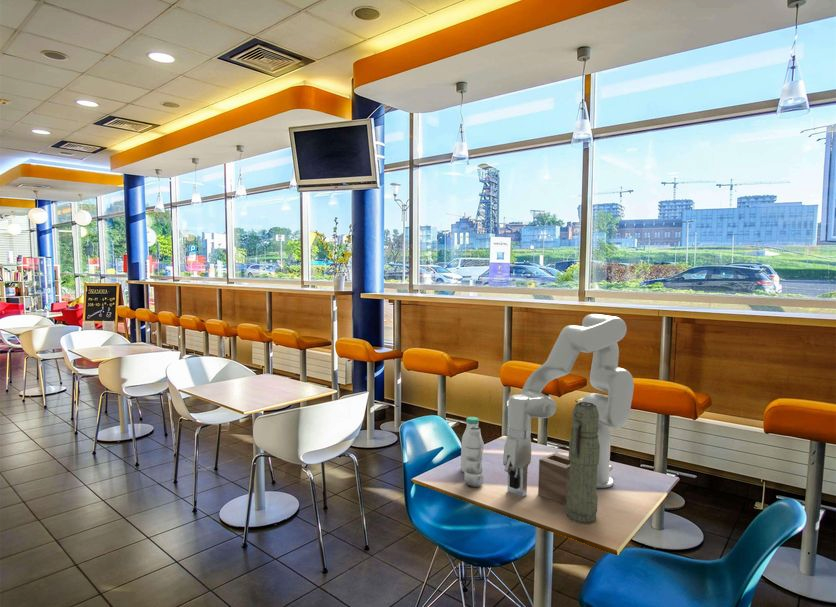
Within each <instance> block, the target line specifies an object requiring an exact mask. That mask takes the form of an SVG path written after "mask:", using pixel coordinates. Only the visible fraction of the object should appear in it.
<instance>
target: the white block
mask: <svg viewBox="0 0 836 607" xmlns="http://www.w3.org/2000/svg"><path fill="white" fill-rule="evenodd" d="M528 466H529V465H528ZM528 466H525V465H524V466H522V467H520V468H518V475H517V477H519V479H518V489H515V488H512V487H510V486H509V483H510V475H509V473H508V472H507V493H510V494H512V495H514V496H517V497H520V498H524V497H526V496H527V494H528V492H527V491H528ZM512 470H513V471H515V470H514V469H512Z"/></svg>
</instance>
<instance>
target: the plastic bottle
mask: <svg viewBox="0 0 836 607" xmlns="http://www.w3.org/2000/svg"><path fill="white" fill-rule="evenodd" d="M469 434H470V435H469V437H468V438H467V439H466V441H465V449H466V471H465V473H464V475H463V479H464V483H465V484H466V485H467V486H469V487H480V486H482V485H483V482H484V472H483V454H484V447H485V443H484V442H485V441H483V437H482V436H481V437H480V435H481V428H480V427H479V426H478V427H471V428H470V432H469Z"/></svg>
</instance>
